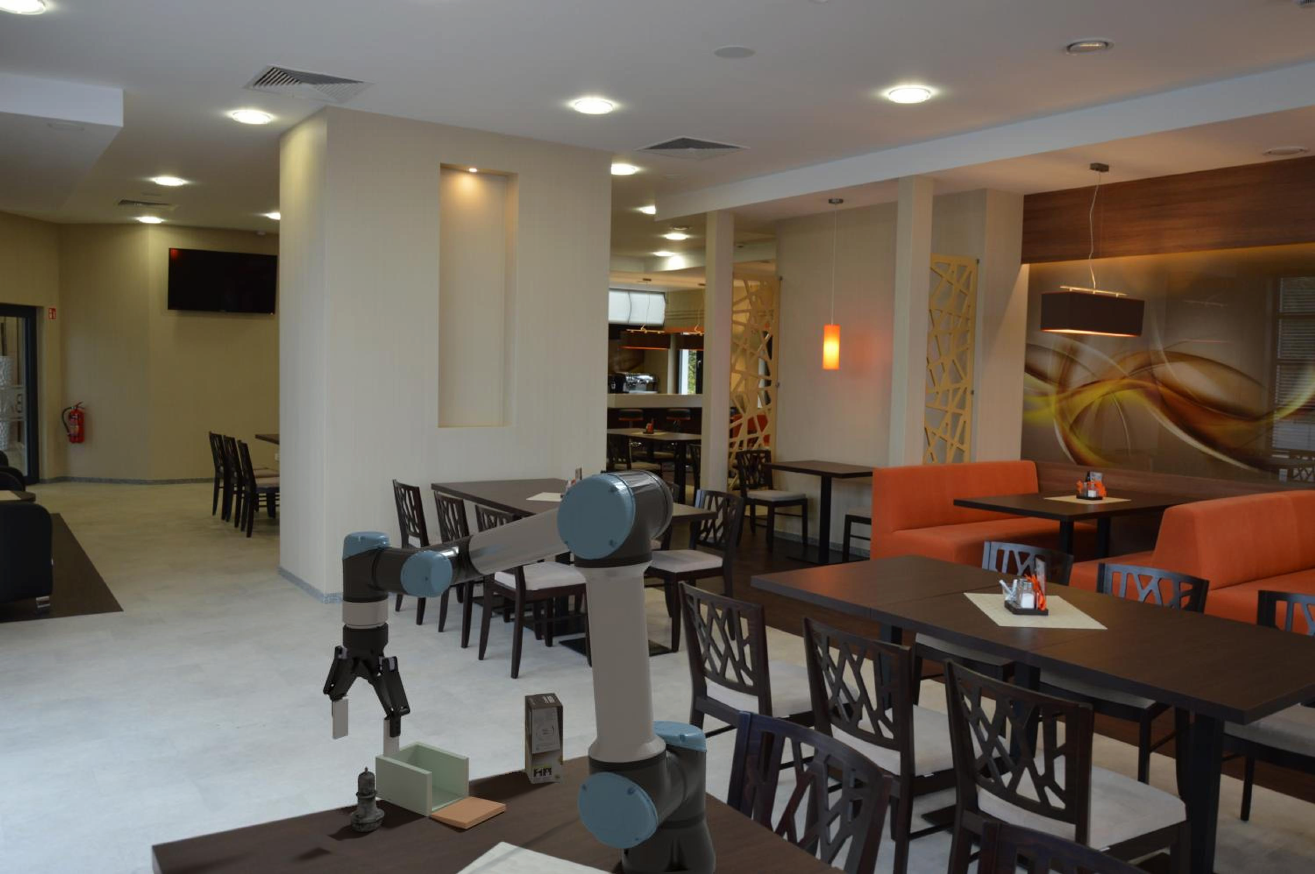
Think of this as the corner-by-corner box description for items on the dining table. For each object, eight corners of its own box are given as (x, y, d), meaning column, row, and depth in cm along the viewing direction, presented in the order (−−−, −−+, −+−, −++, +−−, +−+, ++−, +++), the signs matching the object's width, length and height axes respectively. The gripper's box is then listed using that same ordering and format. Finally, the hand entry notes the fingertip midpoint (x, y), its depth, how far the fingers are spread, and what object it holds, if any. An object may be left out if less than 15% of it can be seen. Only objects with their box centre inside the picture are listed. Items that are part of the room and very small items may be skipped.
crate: (468, 805, 183) (468, 757, 183) (426, 824, 175) (426, 774, 175) (417, 787, 191) (417, 741, 191) (375, 804, 183) (375, 756, 183)
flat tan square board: (470, 801, 183) (506, 809, 177) (430, 819, 175) (466, 828, 169) (470, 796, 183) (505, 804, 177) (430, 813, 175) (465, 823, 169)
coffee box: (564, 787, 192) (564, 705, 191) (531, 791, 190) (531, 708, 189) (554, 770, 201) (554, 691, 200) (523, 773, 199) (523, 694, 198)
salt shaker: (374, 844, 167) (373, 774, 167) (342, 841, 168) (341, 771, 168) (390, 829, 173) (390, 761, 172) (359, 826, 174) (359, 759, 174)
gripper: (432, 630, 165) (431, 756, 166) (338, 608, 179) (338, 724, 180) (396, 639, 159) (395, 769, 160) (302, 615, 173) (302, 735, 174)
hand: (365, 745), depth 170 cm, fingers open, 13 cm apart
